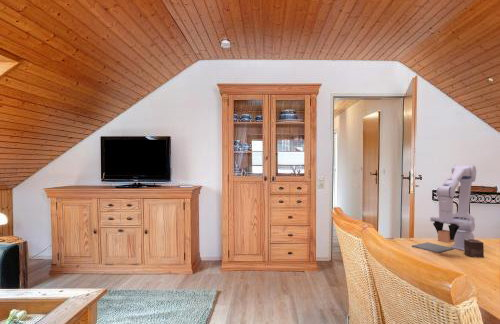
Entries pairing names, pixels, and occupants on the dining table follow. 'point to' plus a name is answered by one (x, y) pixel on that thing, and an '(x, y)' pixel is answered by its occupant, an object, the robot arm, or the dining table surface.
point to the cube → (444, 236)
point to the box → (473, 248)
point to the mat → (433, 247)
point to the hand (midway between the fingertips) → (446, 238)
